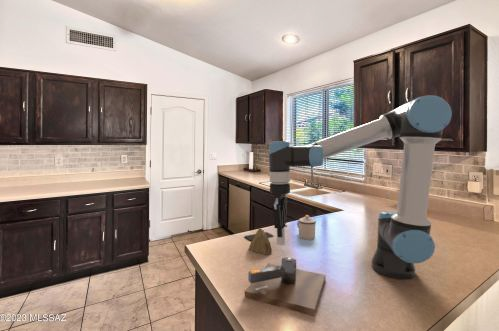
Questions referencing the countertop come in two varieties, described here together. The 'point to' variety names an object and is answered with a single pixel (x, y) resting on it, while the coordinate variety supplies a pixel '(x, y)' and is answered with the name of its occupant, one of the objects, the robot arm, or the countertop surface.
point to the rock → (260, 243)
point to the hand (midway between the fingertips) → (280, 244)
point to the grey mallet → (276, 272)
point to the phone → (250, 237)
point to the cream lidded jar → (306, 227)
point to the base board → (290, 291)
